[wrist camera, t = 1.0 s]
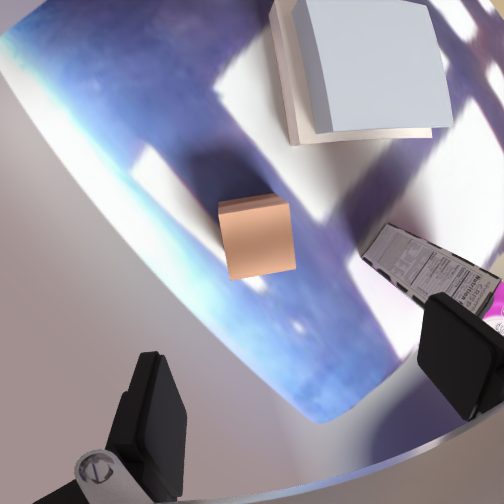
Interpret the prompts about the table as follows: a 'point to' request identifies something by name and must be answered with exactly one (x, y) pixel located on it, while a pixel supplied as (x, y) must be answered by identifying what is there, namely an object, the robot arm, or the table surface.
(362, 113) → the tower top
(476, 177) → the table surface
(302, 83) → the tower base
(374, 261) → the candy bar box
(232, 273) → the terracotta block
